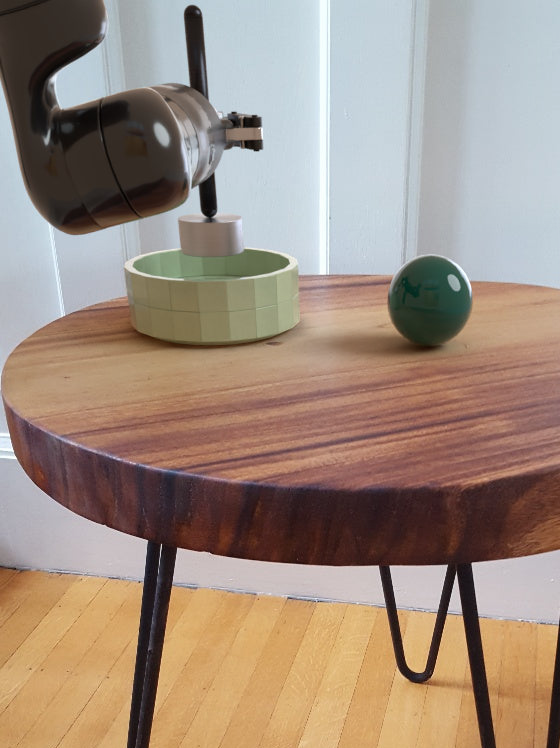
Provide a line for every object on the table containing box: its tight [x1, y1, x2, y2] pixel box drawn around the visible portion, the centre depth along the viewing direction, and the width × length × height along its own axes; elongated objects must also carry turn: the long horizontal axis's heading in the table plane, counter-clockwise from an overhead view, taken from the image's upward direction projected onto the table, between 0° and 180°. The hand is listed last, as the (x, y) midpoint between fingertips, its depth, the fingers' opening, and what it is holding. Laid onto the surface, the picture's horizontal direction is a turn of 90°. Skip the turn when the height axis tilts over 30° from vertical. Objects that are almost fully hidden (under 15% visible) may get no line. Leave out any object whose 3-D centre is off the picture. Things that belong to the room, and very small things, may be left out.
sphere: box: [387, 253, 474, 347], centre depth 89 cm, size 8×8×8 cm
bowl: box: [123, 246, 301, 346], centre depth 94 cm, size 17×17×6 cm
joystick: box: [177, 4, 245, 257], centre depth 87 cm, size 6×6×20 cm
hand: (208, 124), depth 89 cm, fingers closed on joystick
